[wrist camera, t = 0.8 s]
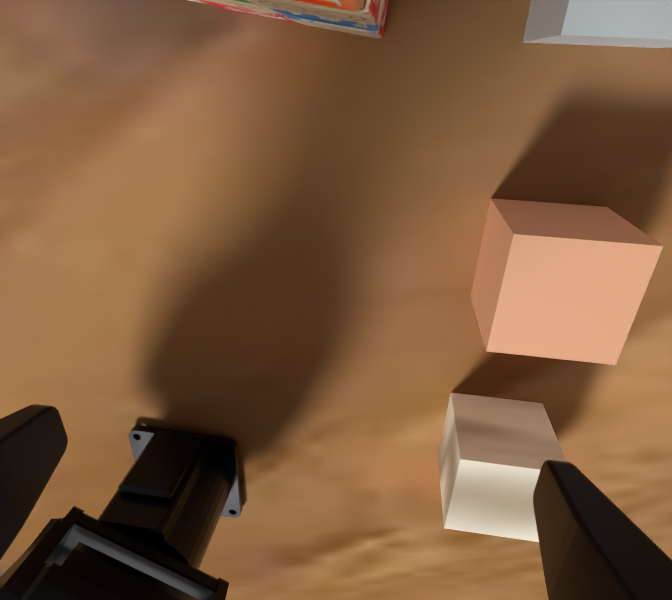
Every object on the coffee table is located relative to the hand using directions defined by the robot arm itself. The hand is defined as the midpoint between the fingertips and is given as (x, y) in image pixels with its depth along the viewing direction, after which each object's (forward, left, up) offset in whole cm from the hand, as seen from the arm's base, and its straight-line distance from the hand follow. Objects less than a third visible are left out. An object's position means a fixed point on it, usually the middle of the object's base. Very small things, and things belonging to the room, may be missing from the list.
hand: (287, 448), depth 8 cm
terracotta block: (-1, -8, -13) cm, 15 cm away
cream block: (-11, -8, -13) cm, 18 cm away
